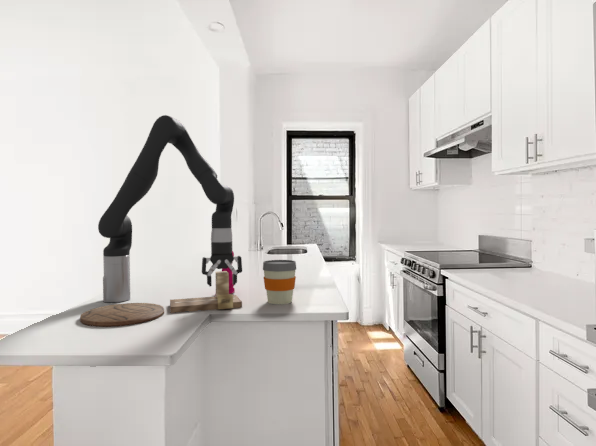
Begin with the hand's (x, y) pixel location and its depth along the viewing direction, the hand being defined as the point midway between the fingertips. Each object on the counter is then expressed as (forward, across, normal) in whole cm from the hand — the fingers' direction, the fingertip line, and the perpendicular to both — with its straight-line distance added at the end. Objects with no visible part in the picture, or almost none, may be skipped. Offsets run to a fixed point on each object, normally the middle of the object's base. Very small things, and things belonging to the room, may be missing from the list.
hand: (222, 285), depth 148 cm
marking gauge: (+7, 0, -2) cm, 7 cm away
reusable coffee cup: (+7, +21, -2) cm, 22 cm away
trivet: (+8, -33, -5) cm, 34 cm away
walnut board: (+7, -6, 0) cm, 9 cm away
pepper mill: (+7, +5, +22) cm, 24 cm away
